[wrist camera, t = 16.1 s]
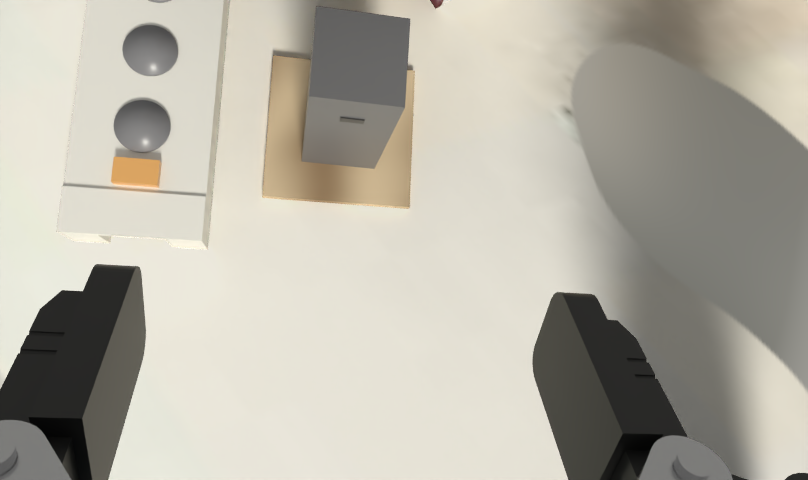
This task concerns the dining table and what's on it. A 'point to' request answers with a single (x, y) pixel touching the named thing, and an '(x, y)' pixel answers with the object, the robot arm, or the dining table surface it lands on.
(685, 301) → the dining table surface
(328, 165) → the coaster
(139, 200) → the power strip
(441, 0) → the cereal box
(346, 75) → the block
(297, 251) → the dining table surface
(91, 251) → the dining table surface
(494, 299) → the dining table surface
